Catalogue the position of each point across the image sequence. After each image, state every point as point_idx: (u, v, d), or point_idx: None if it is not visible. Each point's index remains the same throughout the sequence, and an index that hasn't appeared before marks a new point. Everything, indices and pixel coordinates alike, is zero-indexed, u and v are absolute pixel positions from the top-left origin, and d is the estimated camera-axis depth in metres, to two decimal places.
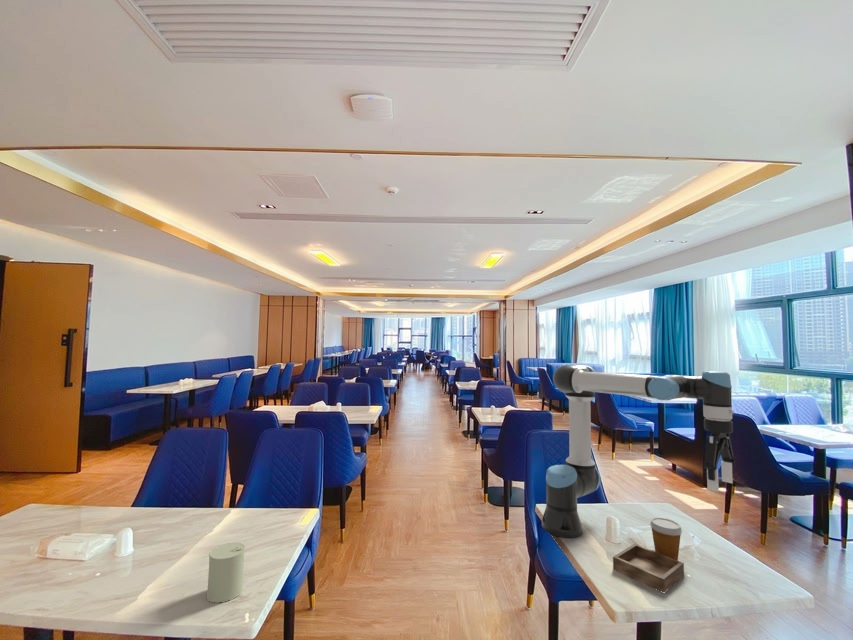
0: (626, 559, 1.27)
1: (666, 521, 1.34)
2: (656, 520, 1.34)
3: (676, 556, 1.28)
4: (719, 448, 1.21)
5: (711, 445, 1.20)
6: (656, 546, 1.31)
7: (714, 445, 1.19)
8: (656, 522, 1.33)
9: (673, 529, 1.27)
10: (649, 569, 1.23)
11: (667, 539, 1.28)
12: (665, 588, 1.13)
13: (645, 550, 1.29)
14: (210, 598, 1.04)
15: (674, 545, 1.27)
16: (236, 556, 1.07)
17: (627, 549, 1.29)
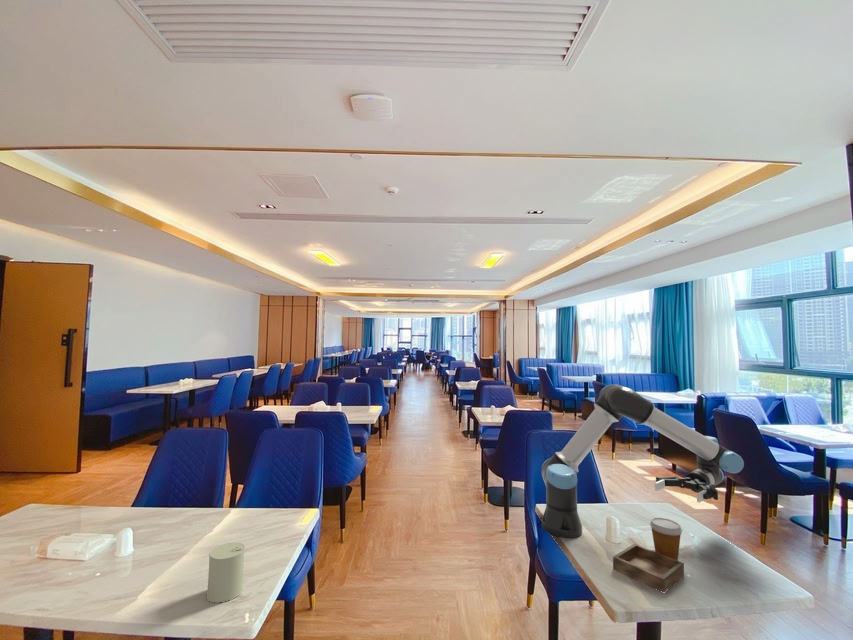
0: (626, 559, 1.27)
1: (666, 521, 1.34)
2: (656, 520, 1.34)
3: (676, 556, 1.28)
4: None
5: None
6: (656, 546, 1.31)
7: None
8: (656, 522, 1.33)
9: (673, 529, 1.27)
10: (649, 569, 1.23)
11: (667, 539, 1.28)
12: (665, 588, 1.13)
13: (645, 550, 1.29)
14: (210, 598, 1.04)
15: (674, 545, 1.27)
16: (236, 556, 1.07)
17: (627, 549, 1.29)
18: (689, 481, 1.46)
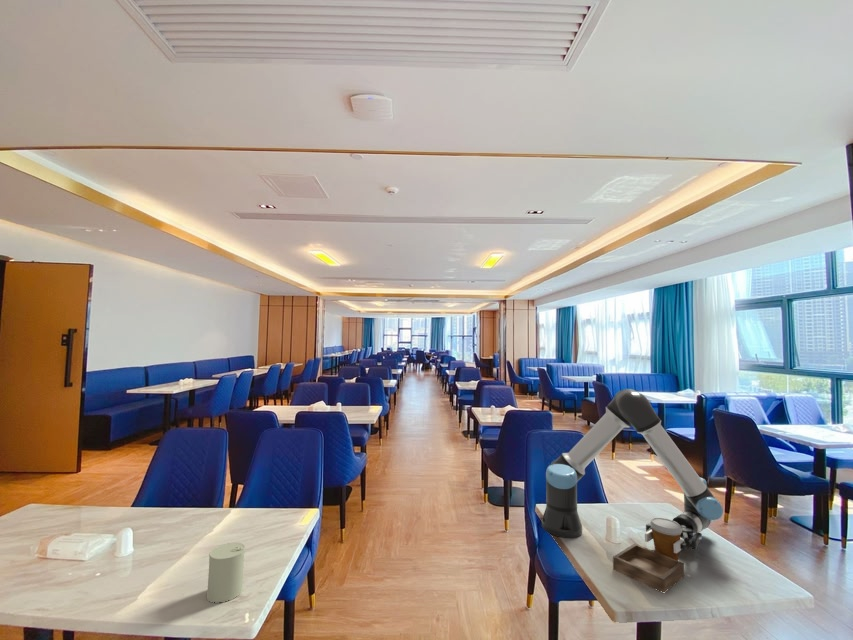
0: (626, 559, 1.27)
1: (666, 521, 1.34)
2: (656, 520, 1.34)
3: (676, 556, 1.28)
4: None
5: (698, 539, 1.32)
6: (656, 546, 1.31)
7: (698, 541, 1.32)
8: (656, 522, 1.33)
9: (673, 529, 1.27)
10: (649, 569, 1.23)
11: (667, 539, 1.28)
12: (665, 588, 1.13)
13: (645, 550, 1.29)
14: (210, 598, 1.04)
15: None
16: (236, 556, 1.07)
17: (627, 549, 1.29)
18: None
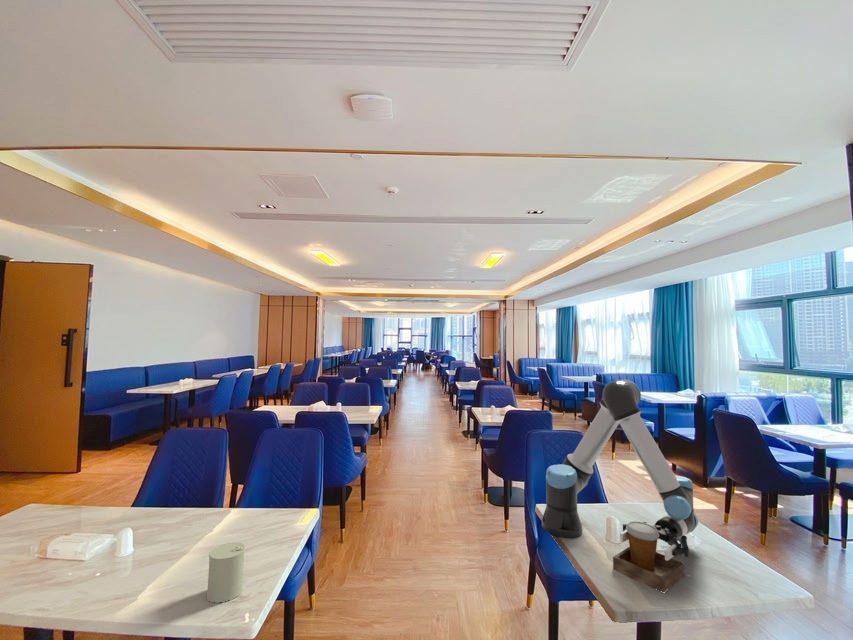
0: (626, 559, 1.27)
1: (643, 525, 1.28)
2: (633, 524, 1.28)
3: (652, 562, 1.22)
4: None
5: None
6: (631, 551, 1.25)
7: None
8: (633, 526, 1.27)
9: (649, 534, 1.22)
10: None
11: (642, 544, 1.22)
12: (665, 588, 1.13)
13: None
14: (210, 598, 1.04)
15: (650, 551, 1.21)
16: (236, 556, 1.07)
17: (627, 549, 1.29)
18: (659, 530, 1.30)
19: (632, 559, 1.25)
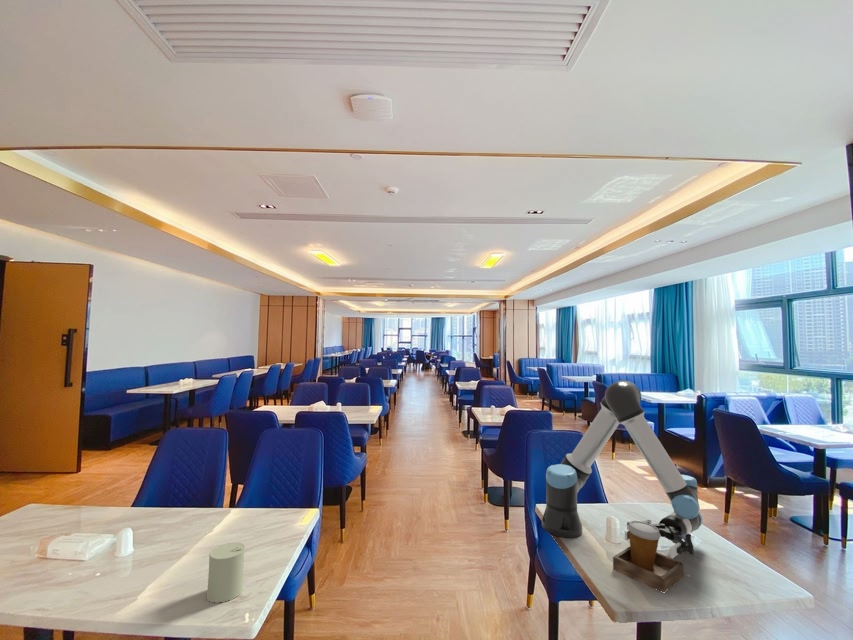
0: (626, 559, 1.27)
1: (645, 525, 1.28)
2: (635, 523, 1.29)
3: (652, 562, 1.22)
4: None
5: None
6: (632, 550, 1.25)
7: None
8: (634, 525, 1.27)
9: (650, 533, 1.22)
10: None
11: (643, 543, 1.22)
12: (665, 588, 1.13)
13: None
14: (210, 598, 1.04)
15: (651, 550, 1.22)
16: (236, 556, 1.07)
17: (627, 549, 1.29)
18: (663, 529, 1.31)
19: (632, 558, 1.25)
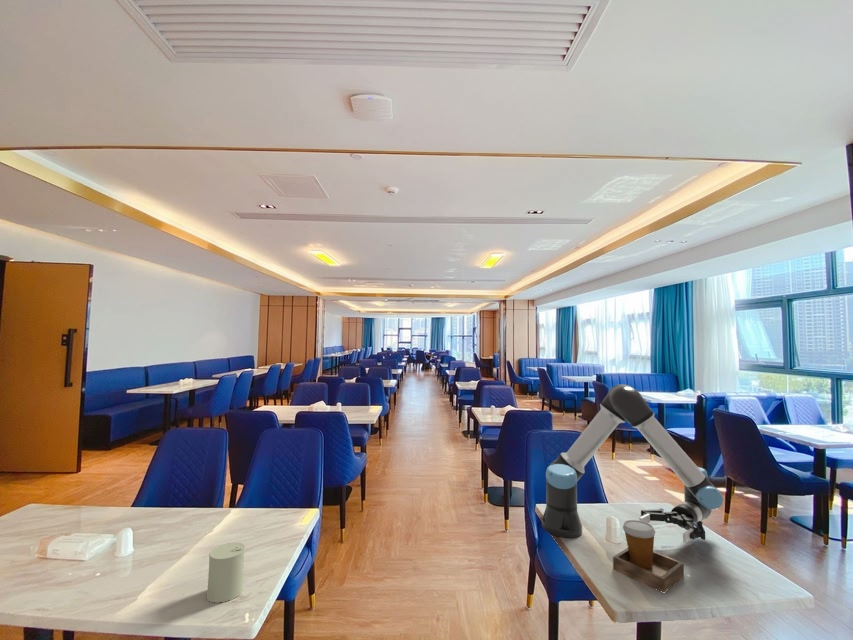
0: (626, 559, 1.27)
1: (640, 523, 1.29)
2: (630, 522, 1.30)
3: (649, 560, 1.23)
4: None
5: None
6: (629, 549, 1.26)
7: None
8: (629, 524, 1.28)
9: (644, 531, 1.23)
10: (649, 569, 1.23)
11: (638, 542, 1.23)
12: (665, 588, 1.13)
13: None
14: (210, 598, 1.04)
15: (646, 548, 1.22)
16: (236, 556, 1.07)
17: (627, 549, 1.29)
18: (675, 516, 1.38)
19: (630, 558, 1.26)
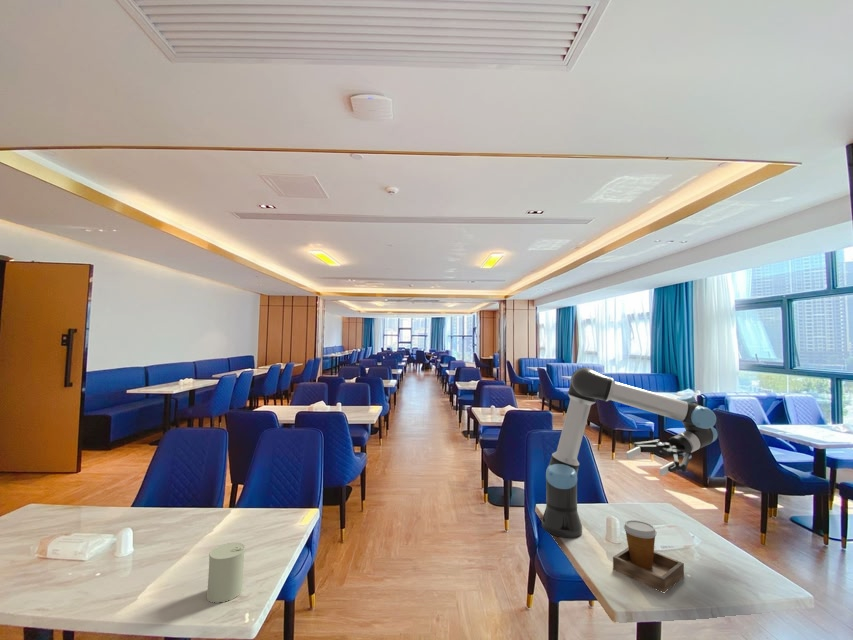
0: (626, 559, 1.27)
1: (642, 524, 1.29)
2: (631, 523, 1.30)
3: (650, 560, 1.23)
4: None
5: (688, 459, 1.38)
6: (629, 549, 1.26)
7: (688, 461, 1.38)
8: (630, 524, 1.28)
9: (645, 532, 1.23)
10: (649, 569, 1.23)
11: (639, 542, 1.23)
12: (665, 588, 1.13)
13: None
14: (210, 598, 1.04)
15: (647, 549, 1.22)
16: (236, 556, 1.07)
17: (627, 549, 1.29)
18: (667, 448, 1.45)
19: (631, 558, 1.26)
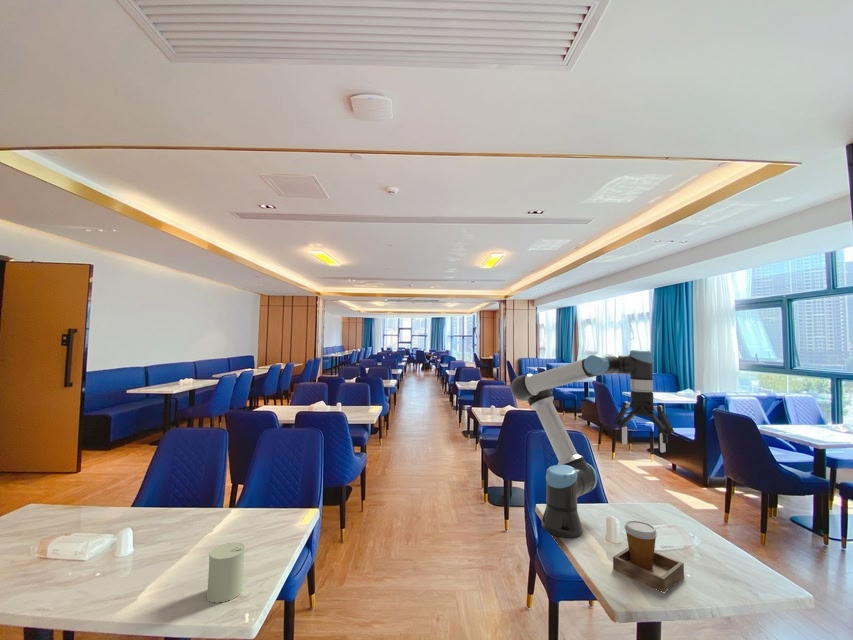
0: (626, 559, 1.27)
1: (642, 524, 1.28)
2: (632, 523, 1.29)
3: (650, 561, 1.23)
4: (654, 414, 1.42)
5: (663, 413, 1.39)
6: (630, 550, 1.26)
7: (663, 412, 1.40)
8: (631, 525, 1.28)
9: (646, 533, 1.22)
10: (649, 569, 1.23)
11: (639, 543, 1.23)
12: (665, 588, 1.13)
13: None
14: (210, 598, 1.04)
15: (648, 550, 1.22)
16: (236, 556, 1.07)
17: (627, 549, 1.29)
18: (639, 412, 1.44)
19: (631, 558, 1.26)
